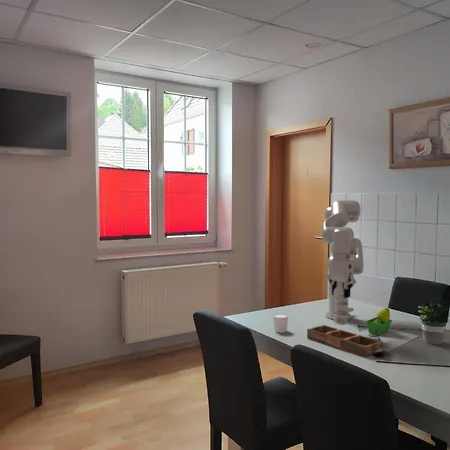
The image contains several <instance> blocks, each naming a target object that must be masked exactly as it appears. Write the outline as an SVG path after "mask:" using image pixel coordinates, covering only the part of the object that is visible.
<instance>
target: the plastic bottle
mask: <svg viewBox="0 0 450 450" xmlns="http://www.w3.org/2000/svg"><path fill="white" fill-rule="evenodd" d="M345 289H346V287H345V284H344V283H343V282H339V281H337V287H336V288H335V289H334V300H335V310H334V316H333V319H332V321H333V322H334V324H336V325H339V326H340V325H341V326H342V325H343V326H345V325H347V324H348V323H349V319H348V314H347V300H348V301H349V297H348V298H345V297H344V295H345Z"/></svg>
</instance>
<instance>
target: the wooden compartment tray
mask: <svg viewBox="0 0 450 450" xmlns="http://www.w3.org/2000/svg"><path fill="white" fill-rule="evenodd" d="M306 333H307V335H306V337H307V339H309V340H312V341H315V342H318V343H321V344H324V345H326V346H329V347H333V348H335V349H338V350H341V351H345V352H347V353H352V354H354V355H357V356H360V357H364V358H367V357H371V356H374V355H375V354H374V352H375V351H376V350H378V349H380V348H382V349H383V344H384V343H383V341H382V340H379V339H378V340H377V339H374V338H370V337H367V336H365V335H364V336H363V335H361V334H357V333H354V332H349V331H346V330H343V329H341V328H335V327H332V326H329V325H325V324H322V325H319V326H313V327H310V328H306ZM373 354H374V355H373Z"/></svg>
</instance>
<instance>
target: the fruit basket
mask: <svg viewBox="0 0 450 450" xmlns="http://www.w3.org/2000/svg"><path fill="white" fill-rule="evenodd" d="M390 311H391V310H390V309H389V307H388V308H387V307H384V308H383V309H381V310H379V311H378V312H377V313H376V317H373V318H370V319H368V320H366V321H365V324H366V326H367V329H368V333H371V334H376V335H381V334H384V333H386V332H389V330H390V327H391V324H392V321H393V320H392V319H390V317H391V312H390Z"/></svg>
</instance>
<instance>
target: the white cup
mask: <svg viewBox="0 0 450 450" xmlns="http://www.w3.org/2000/svg"><path fill="white" fill-rule="evenodd" d="M272 318H273V327H274V328H273V329H274V333H278V332H280V334H283V332H285V333H287V331H288V321H289V316H288V314H280V313H278V314H273V317H272Z"/></svg>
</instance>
